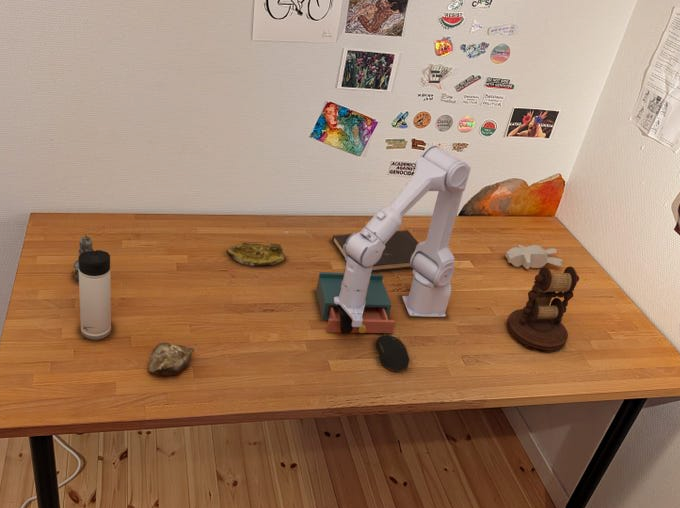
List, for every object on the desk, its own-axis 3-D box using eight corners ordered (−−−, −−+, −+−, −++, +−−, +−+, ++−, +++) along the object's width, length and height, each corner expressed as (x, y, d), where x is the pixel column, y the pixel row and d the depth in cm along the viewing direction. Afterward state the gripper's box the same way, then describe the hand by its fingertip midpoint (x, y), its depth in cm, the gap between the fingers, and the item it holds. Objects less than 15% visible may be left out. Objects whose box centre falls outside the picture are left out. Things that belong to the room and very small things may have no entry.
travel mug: (85, 343, 157) (82, 265, 146) (77, 325, 162) (74, 248, 151) (114, 338, 160) (114, 261, 149) (106, 319, 165) (106, 244, 154)
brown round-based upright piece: (547, 316, 192) (573, 251, 181) (575, 354, 180) (605, 287, 169) (495, 317, 188) (519, 250, 177) (520, 355, 176) (547, 287, 165)
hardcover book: (430, 266, 203) (432, 259, 202) (353, 273, 195) (355, 266, 194) (405, 235, 215) (406, 228, 214) (331, 241, 207) (333, 233, 206)
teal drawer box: (377, 294, 189) (382, 274, 185) (387, 321, 180) (392, 301, 176) (315, 292, 185) (319, 271, 182) (322, 319, 176) (326, 299, 173)
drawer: (382, 305, 184) (385, 294, 182) (393, 336, 174) (396, 325, 172) (320, 303, 181) (322, 292, 179) (327, 335, 171) (330, 323, 169)
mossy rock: (226, 267, 190) (284, 270, 193) (227, 253, 187) (286, 257, 190) (226, 244, 197) (282, 248, 200) (227, 230, 194) (284, 234, 197)
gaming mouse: (395, 331, 177) (398, 317, 175) (411, 373, 165) (414, 359, 163) (369, 330, 176) (372, 317, 174) (383, 373, 164) (387, 359, 162)
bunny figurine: (504, 240, 213) (555, 240, 214) (501, 255, 216) (551, 255, 217) (513, 259, 205) (566, 258, 206) (510, 274, 208) (562, 273, 209)
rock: (160, 380, 148) (202, 370, 155) (156, 347, 148) (199, 338, 155) (141, 376, 154) (183, 366, 161) (138, 344, 153) (180, 336, 160)
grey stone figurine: (68, 279, 175) (66, 236, 168) (84, 267, 180) (82, 225, 173) (89, 287, 174) (88, 244, 167) (104, 275, 178) (104, 233, 172)
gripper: (332, 264, 168) (323, 311, 176) (343, 303, 157) (333, 352, 164) (362, 265, 170) (352, 312, 177) (375, 304, 158) (364, 352, 166)
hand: (345, 331), depth 171 cm, fingers closed
